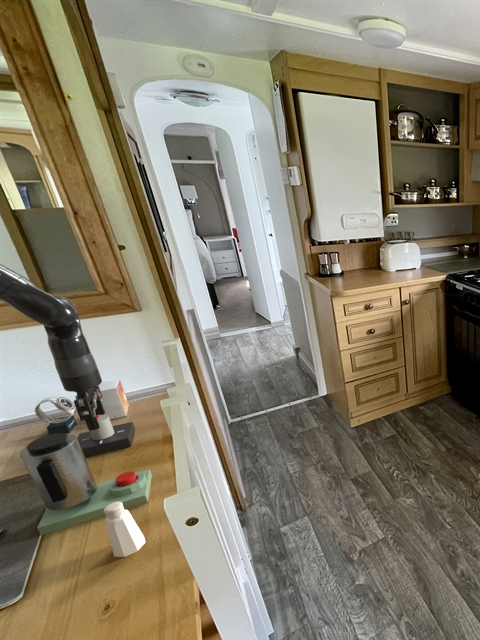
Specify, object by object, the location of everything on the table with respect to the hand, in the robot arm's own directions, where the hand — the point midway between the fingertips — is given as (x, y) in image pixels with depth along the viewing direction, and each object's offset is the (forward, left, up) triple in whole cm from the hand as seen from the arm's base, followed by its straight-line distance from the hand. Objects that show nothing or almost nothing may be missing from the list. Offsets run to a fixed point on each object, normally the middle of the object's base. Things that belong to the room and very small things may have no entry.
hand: (97, 421), depth 107 cm
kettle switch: (+9, -29, -4) cm, 31 cm away
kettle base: (+3, -29, -8) cm, 30 cm away
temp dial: (0, 0, -4) cm, 4 cm away
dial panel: (0, 0, -8) cm, 8 cm away
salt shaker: (+10, -48, -8) cm, 50 cm away
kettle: (-1, -29, -4) cm, 29 cm away
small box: (0, +20, -8) cm, 21 cm away
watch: (-12, +16, -8) cm, 21 cm away
